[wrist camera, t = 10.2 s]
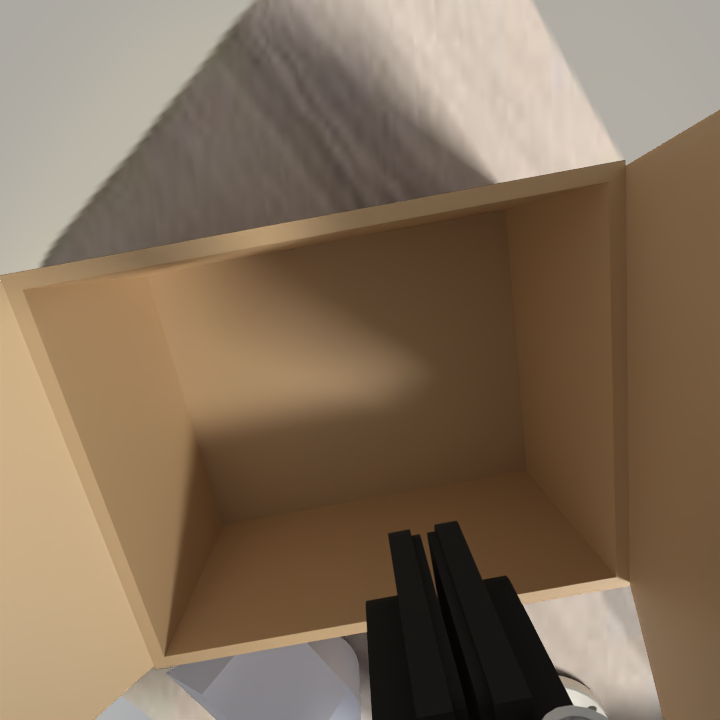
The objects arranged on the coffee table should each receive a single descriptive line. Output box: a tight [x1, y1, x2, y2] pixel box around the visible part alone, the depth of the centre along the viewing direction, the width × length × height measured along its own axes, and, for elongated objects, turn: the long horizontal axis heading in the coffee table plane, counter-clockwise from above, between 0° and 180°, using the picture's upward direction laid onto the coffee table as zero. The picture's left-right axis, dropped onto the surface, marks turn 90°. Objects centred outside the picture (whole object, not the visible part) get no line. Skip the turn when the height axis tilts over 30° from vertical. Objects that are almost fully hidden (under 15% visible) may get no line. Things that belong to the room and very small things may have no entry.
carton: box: [0, 160, 630, 669], centre depth 21 cm, size 18×22×10 cm
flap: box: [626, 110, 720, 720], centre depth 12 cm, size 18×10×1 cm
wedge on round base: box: [167, 637, 361, 720], centre depth 28 cm, size 9×7×13 cm
